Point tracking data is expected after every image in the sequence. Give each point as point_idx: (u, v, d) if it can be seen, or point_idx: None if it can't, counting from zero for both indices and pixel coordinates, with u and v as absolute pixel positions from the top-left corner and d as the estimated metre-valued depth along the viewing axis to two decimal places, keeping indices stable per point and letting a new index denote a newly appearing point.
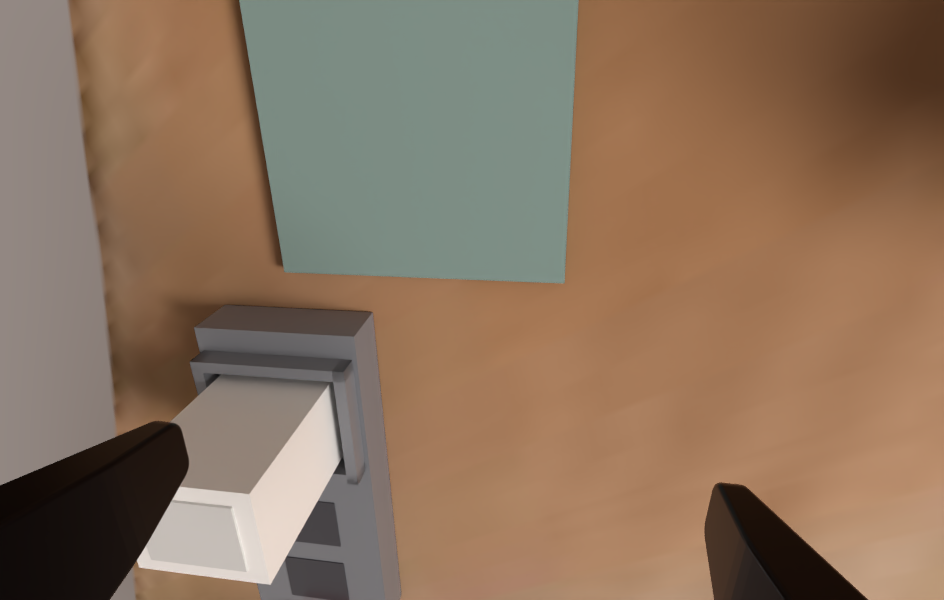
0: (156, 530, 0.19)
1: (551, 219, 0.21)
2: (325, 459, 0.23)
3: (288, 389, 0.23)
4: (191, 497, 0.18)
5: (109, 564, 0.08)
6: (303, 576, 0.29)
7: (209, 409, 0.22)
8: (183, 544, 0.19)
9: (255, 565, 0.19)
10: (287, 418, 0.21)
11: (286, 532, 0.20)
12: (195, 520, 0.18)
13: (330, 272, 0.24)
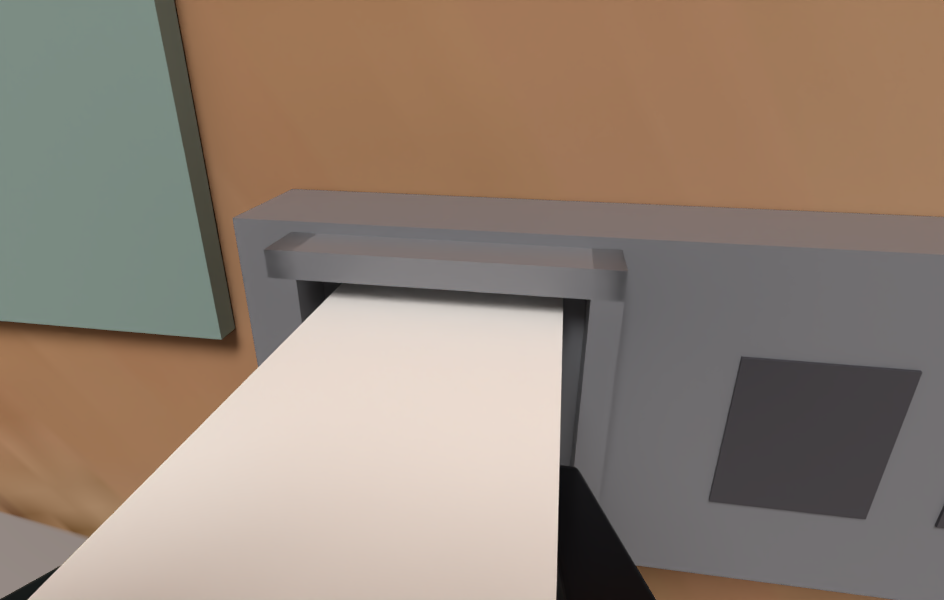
0: None
1: None
2: (483, 341, 0.08)
3: None
4: None
5: None
6: None
7: None
8: None
9: None
10: None
11: (458, 539, 0.05)
12: None
13: (201, 256, 0.13)
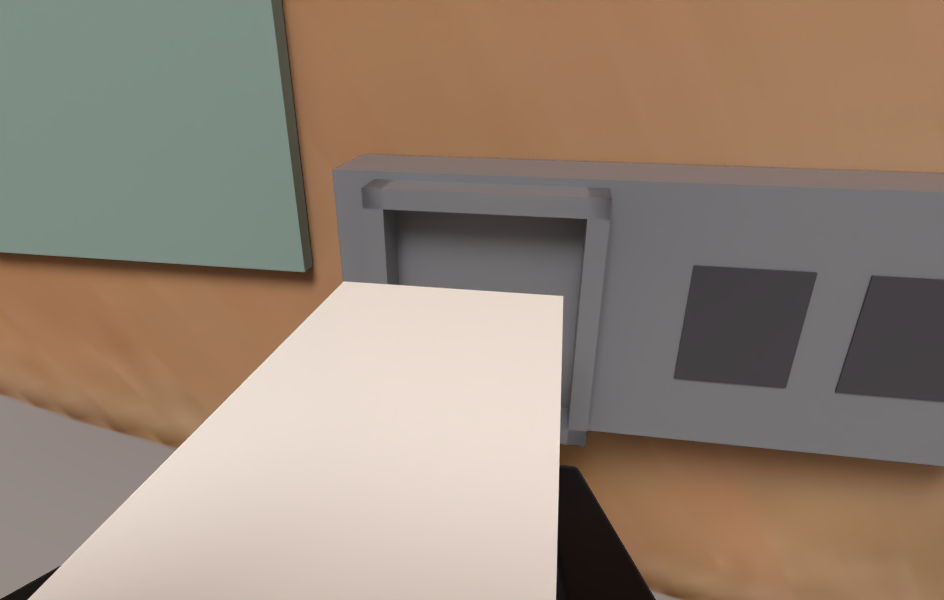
0: None
1: None
2: (483, 340, 0.08)
3: None
4: None
5: None
6: (902, 367, 0.14)
7: None
8: None
9: None
10: None
11: (458, 538, 0.05)
12: None
13: (293, 205, 0.17)
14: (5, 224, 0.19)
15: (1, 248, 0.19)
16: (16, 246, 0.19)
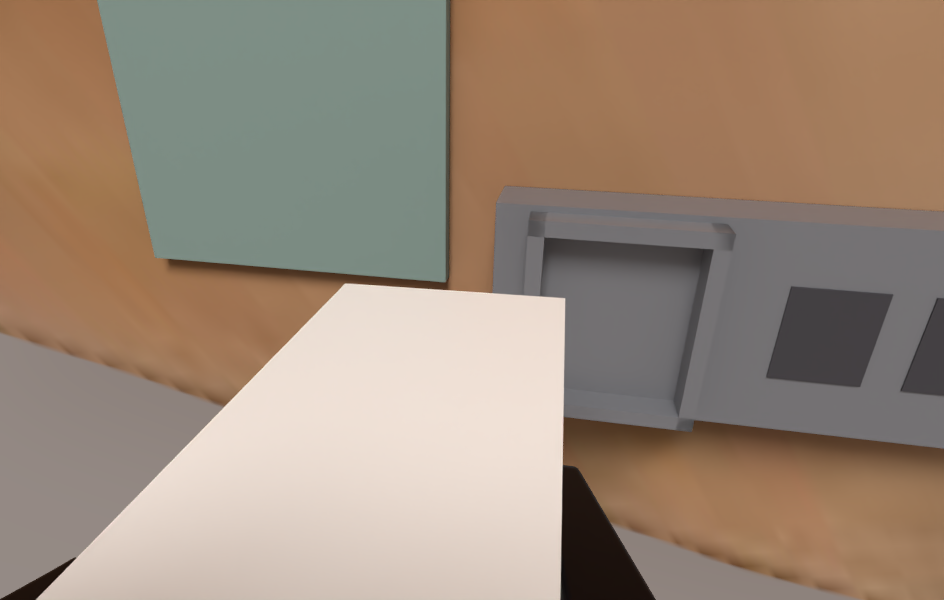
0: None
1: None
2: (485, 343, 0.08)
3: None
4: None
5: None
6: None
7: None
8: None
9: None
10: None
11: (462, 543, 0.05)
12: None
13: (443, 227, 0.20)
14: (185, 236, 0.22)
15: (178, 256, 0.22)
16: (191, 254, 0.22)
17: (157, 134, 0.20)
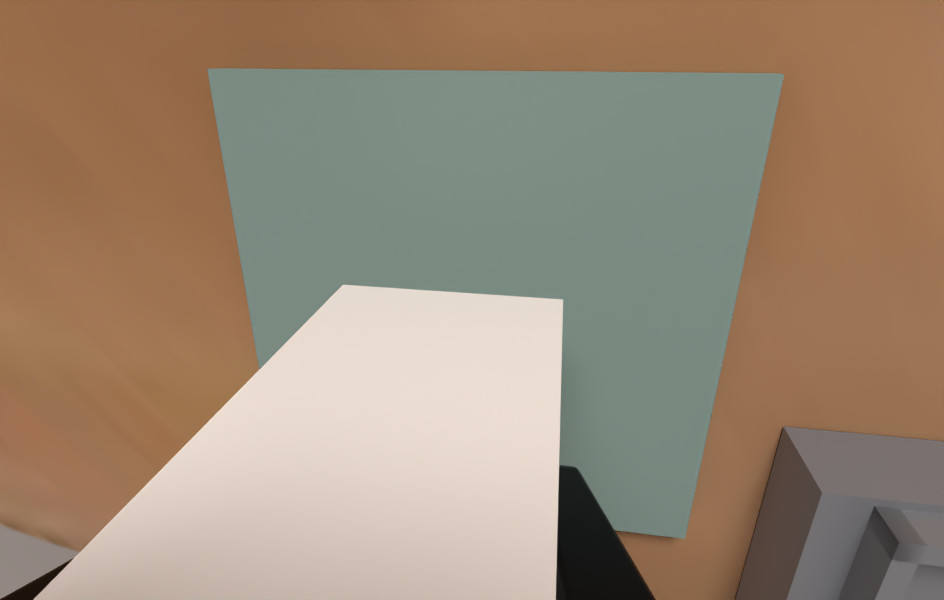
0: None
1: (639, 104, 0.11)
2: (482, 345, 0.08)
3: None
4: None
5: None
6: None
7: None
8: None
9: None
10: None
11: (457, 547, 0.05)
12: None
13: (694, 479, 0.15)
14: None
15: None
16: None
17: None
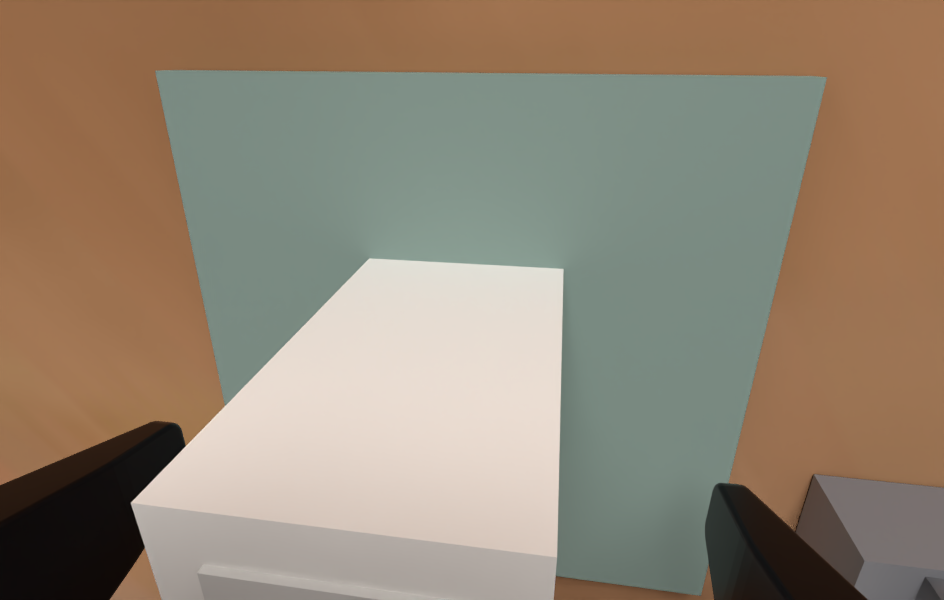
0: None
1: (654, 112, 0.10)
2: (494, 303, 0.09)
3: None
4: None
5: (109, 564, 0.08)
6: None
7: None
8: None
9: (459, 577, 0.05)
10: None
11: (482, 438, 0.06)
12: None
13: None
14: None
15: None
16: None
17: None
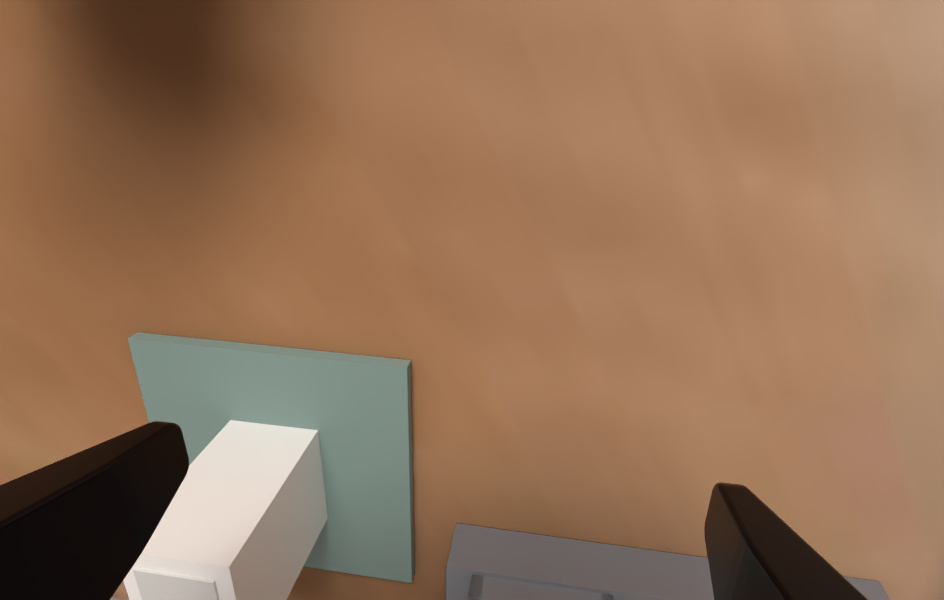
0: None
1: (343, 374, 0.22)
2: (271, 455, 0.22)
3: None
4: (138, 596, 0.19)
5: (109, 564, 0.08)
6: None
7: None
8: None
9: (206, 572, 0.18)
10: None
11: (229, 527, 0.19)
12: None
13: (409, 551, 0.26)
14: None
15: None
16: None
17: None
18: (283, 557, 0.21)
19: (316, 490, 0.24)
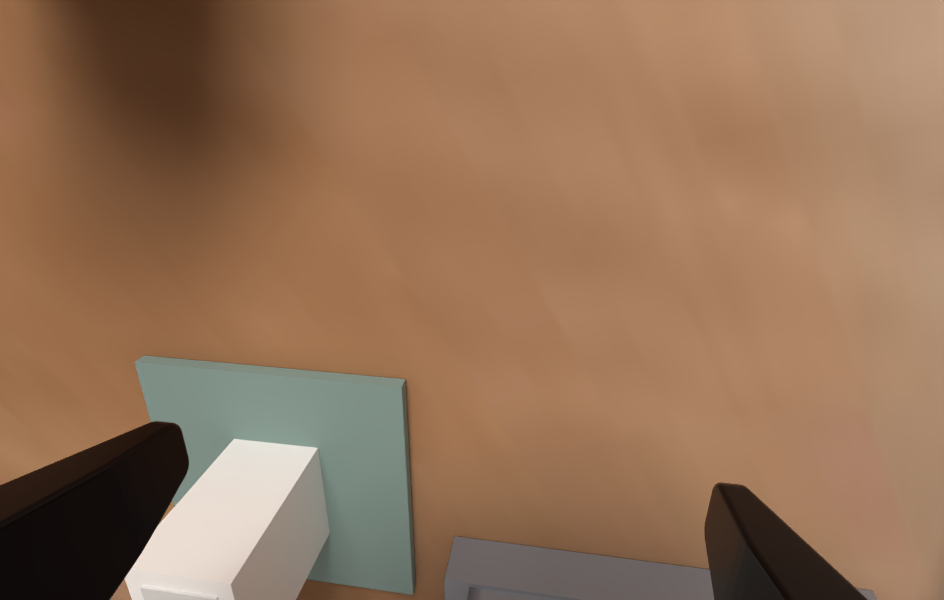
0: None
1: (341, 393, 0.23)
2: (273, 473, 0.23)
3: None
4: None
5: (109, 564, 0.08)
6: None
7: None
8: None
9: (209, 589, 0.18)
10: None
11: (231, 544, 0.20)
12: None
13: (409, 563, 0.27)
14: None
15: None
16: None
17: None
18: (285, 572, 0.22)
19: (317, 506, 0.25)
